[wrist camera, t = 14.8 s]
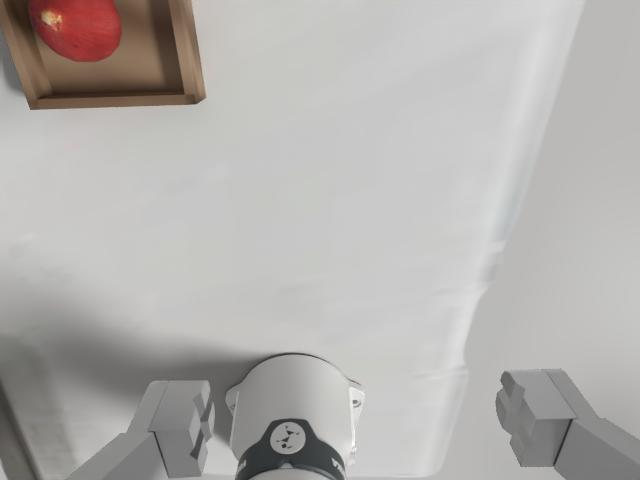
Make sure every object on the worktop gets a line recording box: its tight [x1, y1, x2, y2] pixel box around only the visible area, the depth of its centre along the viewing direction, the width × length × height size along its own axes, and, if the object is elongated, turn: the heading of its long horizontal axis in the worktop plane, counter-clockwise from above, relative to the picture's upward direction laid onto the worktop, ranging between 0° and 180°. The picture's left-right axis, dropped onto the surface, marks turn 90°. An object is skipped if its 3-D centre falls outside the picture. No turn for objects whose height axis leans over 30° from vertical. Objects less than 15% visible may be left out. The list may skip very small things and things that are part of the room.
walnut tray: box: [0, 0, 206, 110], centre depth 33 cm, size 13×14×4 cm
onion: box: [28, 0, 122, 62], centre depth 30 cm, size 6×6×8 cm
